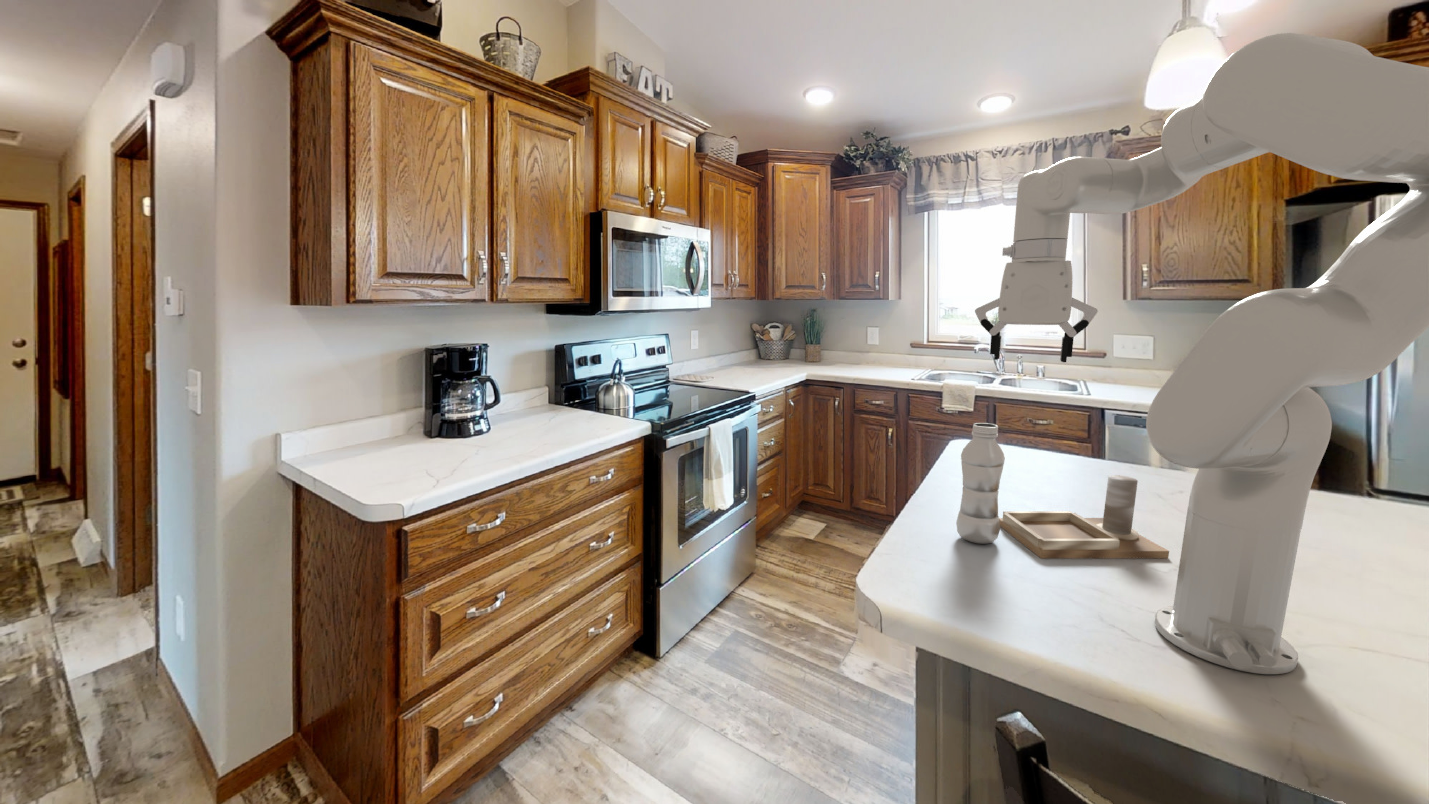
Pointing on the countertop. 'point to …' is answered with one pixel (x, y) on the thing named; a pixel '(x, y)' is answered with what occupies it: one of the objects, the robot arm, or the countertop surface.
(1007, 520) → the board
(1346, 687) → the countertop surface
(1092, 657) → the countertop surface
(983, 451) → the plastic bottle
